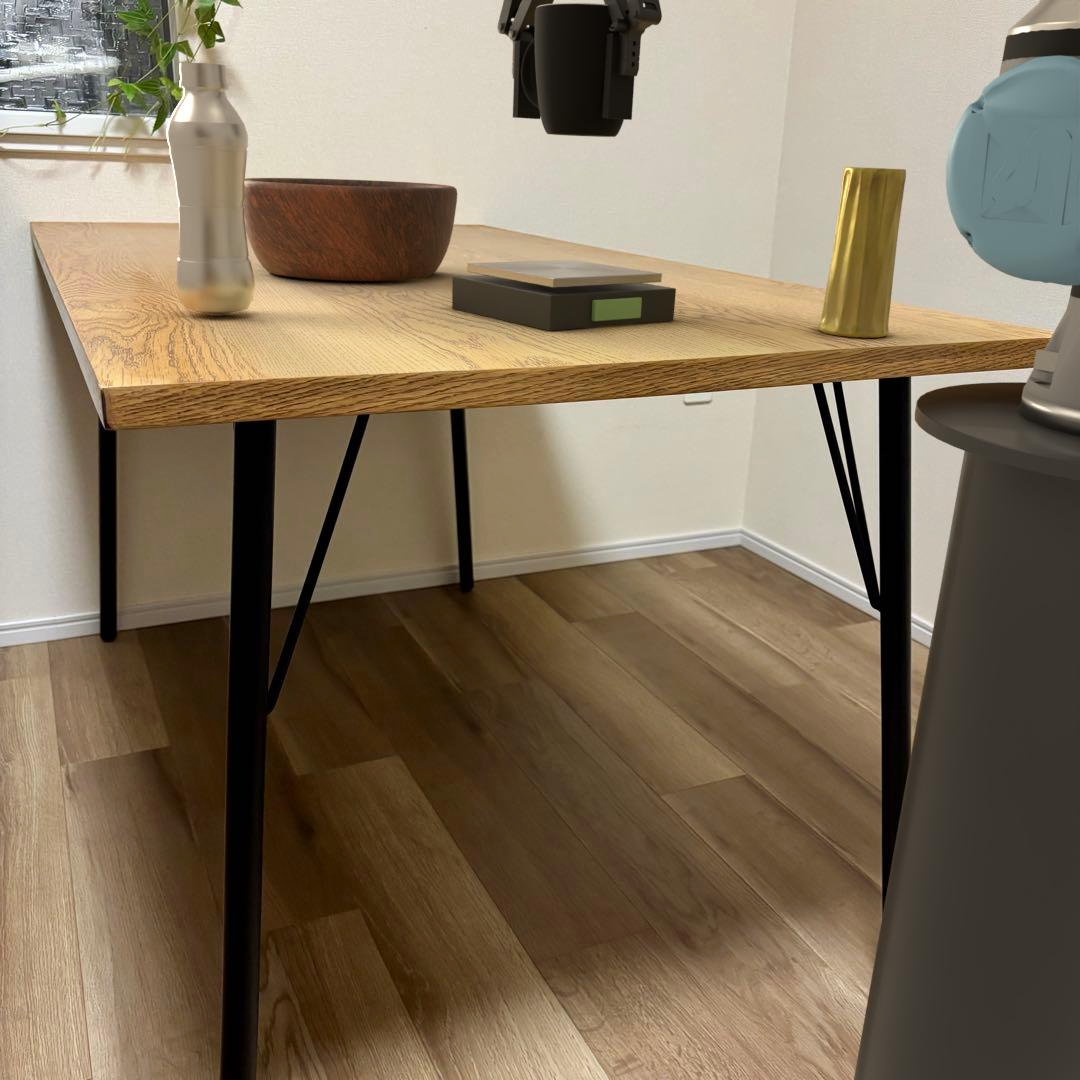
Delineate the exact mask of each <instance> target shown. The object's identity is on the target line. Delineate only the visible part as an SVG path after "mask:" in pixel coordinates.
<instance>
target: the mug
mask: <svg viewBox="0 0 1080 1080" xmlns="http://www.w3.org/2000/svg"><path fill="white" fill-rule="evenodd" d="M612 24H613V22H612V20H611V18H610V15H609V13H608V5H607V4H605V3H591V2H590V3H589V2H556V3H553V4H545V5H540V6H538V7H537V8H536V10H535V38H534V39H533V40H532V42H531V43H530V44H529V46H528V48H527V49H526V52H525V54H524V57H523V61H522V67H521V80H522V85H523V89H524V92H525V94H526V96H527V98H528V99H529V101H530V102H531V103H532V104H533V105H534V106H535V107H537V108H538V109H539V110H540V121H541V124H542V126H543V127H542V128H543V129H544V131H545V133H546V134H547V135H551V136H572V137H596V138H597V137H599V138H615V137H617V136H618V135H619V132H620V131H621V129H622V126H623V124H624V121H625V120H624V119H610V118H602V116H603V98H604V80H605V62H606V44H607V34H612V33H614V34H619V32H613V31H610V30H609V27H610V28H613V27H611V25H612ZM534 57H535V67H536V83H537V94H538V95H537V94H536V92H535V90H534V87H533V83H532V65H533V60H534Z"/></svg>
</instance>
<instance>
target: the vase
mask: <svg viewBox="0 0 1080 1080" xmlns="http://www.w3.org/2000/svg"><path fill="white" fill-rule="evenodd" d="M842 172H843V173H842V183H841V192H840V198H839V206H838V213H837V220H836V227H835V234H834V241H833V248H832V253H831V254H832V256H831V259H830V260H831V261H830V266H829V272H828V277H827V282H826V287H825V294H824V301H823V306H822V313H821V317H820V320H819V325H818V331H820V332H822V333H825V334H827V335H828V334H829V335H832V336H837V337H838V336H839V337H847V338H857V339H858V338H860V339H874V338H875V339H876V338H877V339H878V338H883V337H885V336H887V335H888V334H889V319H890V313H891V303H892V302H891V301H892V295H893V293H892V292H893V284H894V283H893V282H894V274H895V273H894V272H895V264H896V262H895V261H896V253H897V246H898V237H899V231H900V229H899V228H900V223H901V222H900V221H901V215H902V207H903V199H904V194H905V193H904V191H905V185H906V179H907V169H905V168H883V167H881V168H880V167H862V166H861V167H860V166H859V167H857V166H844V168H843V171H842Z"/></svg>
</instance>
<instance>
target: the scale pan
mask: <svg viewBox="0 0 1080 1080" xmlns="http://www.w3.org/2000/svg"><path fill="white" fill-rule="evenodd" d="M466 272H467V273H472V274H478V275H487V276H493V277H498V278H504V279H509V280H515V281H520V282H525V283H531V284H536V285H542V286H547V287H552V288H557V287H576V286H595V285H614V284H633V283H646V284H650V283H651V284H652V283H662V279H663V273H661V272H655V271H649V270H644V269H636V268H629V267H622V266H616V265H610V264H603V263H596V262H590V261H582V260H576V259H554V260H553V259H552V260H551V259H549V260H524V261H523V260H522V261H493V262H491V261H490V262H467V264H466Z"/></svg>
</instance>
